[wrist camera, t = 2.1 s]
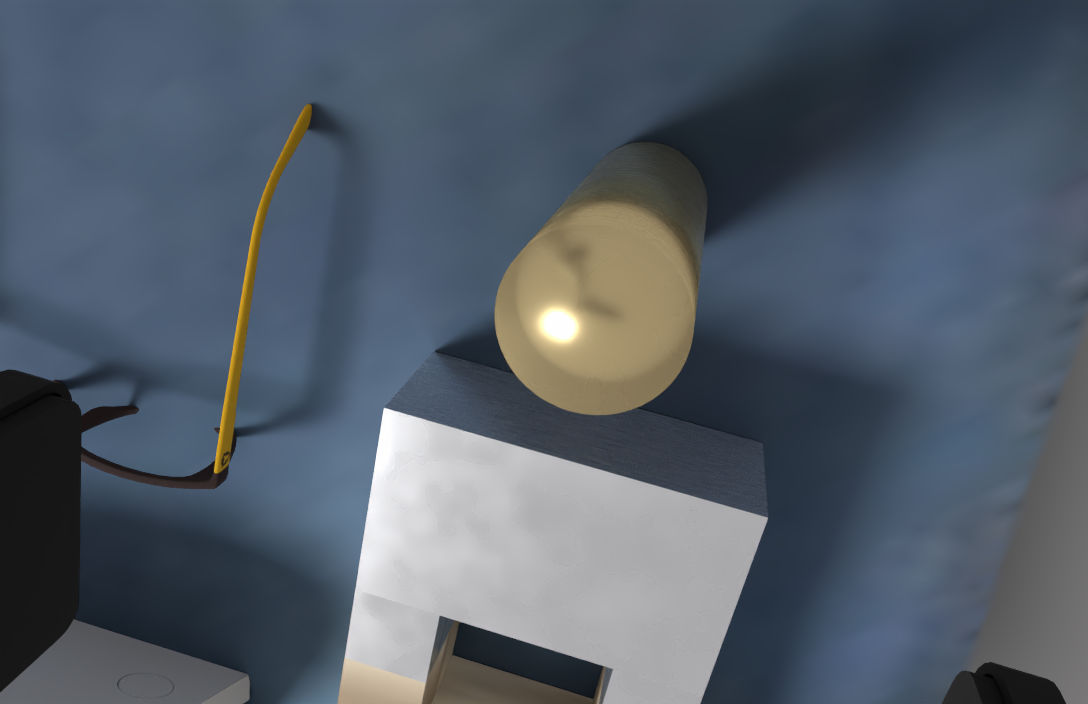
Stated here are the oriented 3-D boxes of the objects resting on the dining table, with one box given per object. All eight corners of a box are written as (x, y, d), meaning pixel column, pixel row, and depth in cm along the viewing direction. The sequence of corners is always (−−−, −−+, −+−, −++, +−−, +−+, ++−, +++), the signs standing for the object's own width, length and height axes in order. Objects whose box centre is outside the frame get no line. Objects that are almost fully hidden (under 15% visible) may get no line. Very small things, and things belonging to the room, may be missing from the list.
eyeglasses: (-55, 353, 37) (-141, 391, 33) (-59, -11, 31) (-163, -14, 28) (264, 462, 36) (210, 514, 32) (319, 103, 30) (262, 116, 27)
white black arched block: (-76, 654, 43) (-293, 751, 33) (-55, 560, 43) (-267, 629, 33) (245, 759, 41) (118, 894, 31) (269, 662, 41) (149, 767, 31)
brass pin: (599, 128, 28) (515, 202, 17) (723, 158, 28) (719, 254, 17) (571, 247, 30) (478, 385, 19) (688, 278, 29) (664, 437, 18)
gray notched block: (433, 351, 32) (384, 407, 28) (762, 442, 31) (768, 517, 26) (393, 575, 36) (344, 657, 31) (685, 664, 35) (678, 763, 30)
